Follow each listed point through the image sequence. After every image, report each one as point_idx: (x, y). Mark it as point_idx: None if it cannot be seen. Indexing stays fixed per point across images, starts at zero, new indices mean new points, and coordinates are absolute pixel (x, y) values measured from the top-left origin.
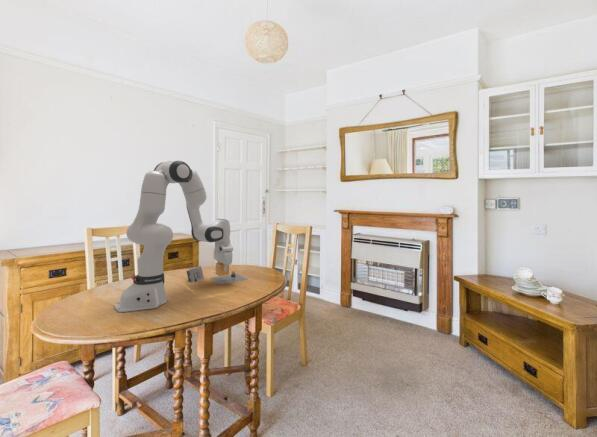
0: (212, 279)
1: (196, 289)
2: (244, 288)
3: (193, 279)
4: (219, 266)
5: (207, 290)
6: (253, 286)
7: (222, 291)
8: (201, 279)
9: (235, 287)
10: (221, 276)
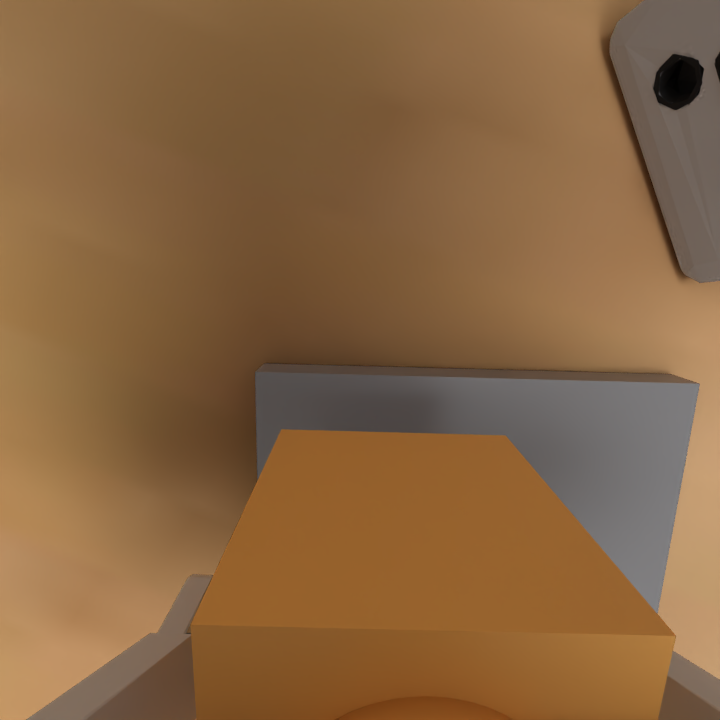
0: (577, 380)
1: (321, 4)
2: (30, 591)
3: (689, 13)
4: (219, 578)
5: (179, 143)
6: None
7: (30, 313)
8: (699, 221)
9: (125, 522)
10: (649, 557)
